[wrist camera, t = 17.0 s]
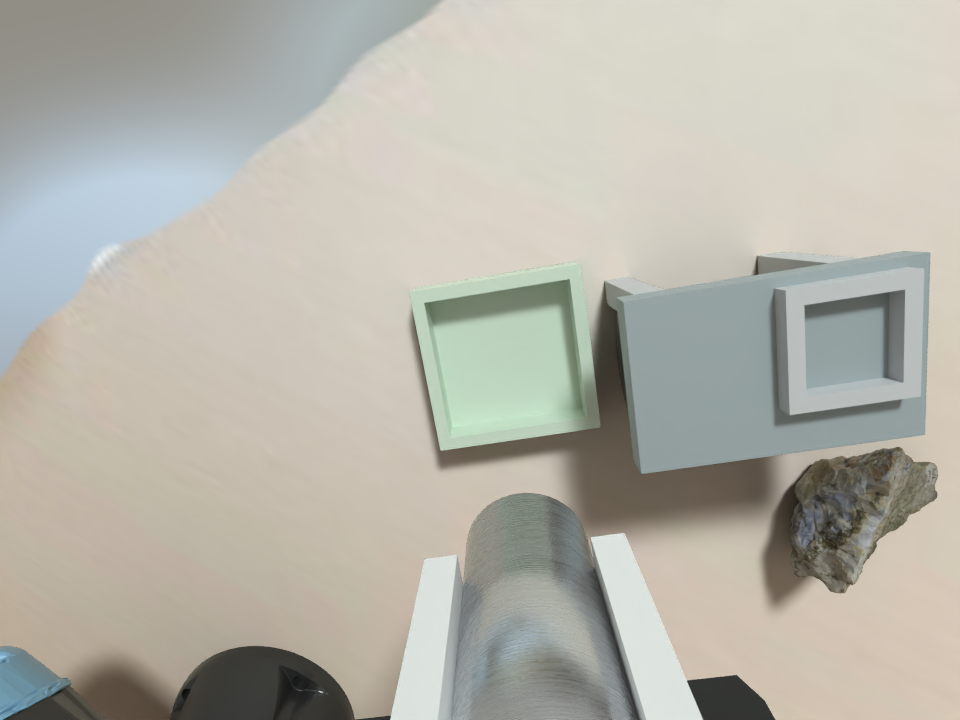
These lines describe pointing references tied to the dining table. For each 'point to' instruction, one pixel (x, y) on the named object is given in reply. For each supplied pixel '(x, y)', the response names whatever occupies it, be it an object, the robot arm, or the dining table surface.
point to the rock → (854, 511)
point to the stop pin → (535, 620)
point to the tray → (507, 355)
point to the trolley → (774, 359)
